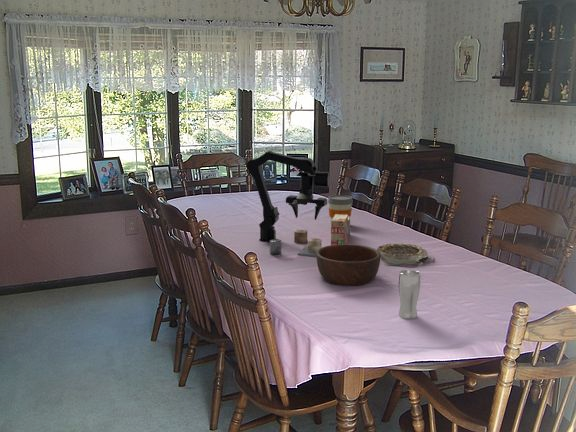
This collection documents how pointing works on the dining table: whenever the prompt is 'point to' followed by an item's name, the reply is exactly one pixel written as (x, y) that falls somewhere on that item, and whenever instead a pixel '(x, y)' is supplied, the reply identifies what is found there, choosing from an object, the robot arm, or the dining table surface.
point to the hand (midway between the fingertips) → (306, 218)
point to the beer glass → (409, 293)
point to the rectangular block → (300, 236)
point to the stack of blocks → (340, 229)
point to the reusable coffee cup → (340, 205)
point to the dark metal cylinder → (275, 247)
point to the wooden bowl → (348, 264)
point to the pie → (403, 254)
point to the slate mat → (306, 253)
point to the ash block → (314, 244)
